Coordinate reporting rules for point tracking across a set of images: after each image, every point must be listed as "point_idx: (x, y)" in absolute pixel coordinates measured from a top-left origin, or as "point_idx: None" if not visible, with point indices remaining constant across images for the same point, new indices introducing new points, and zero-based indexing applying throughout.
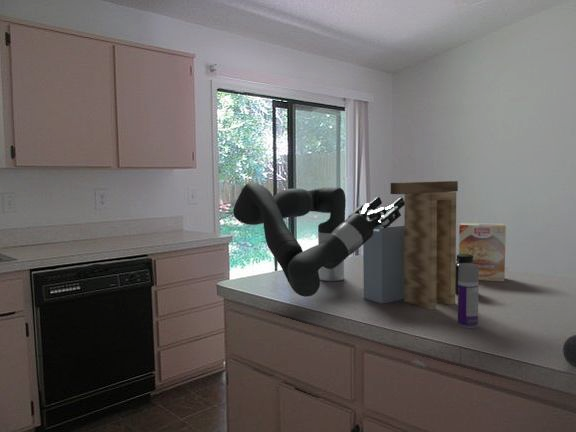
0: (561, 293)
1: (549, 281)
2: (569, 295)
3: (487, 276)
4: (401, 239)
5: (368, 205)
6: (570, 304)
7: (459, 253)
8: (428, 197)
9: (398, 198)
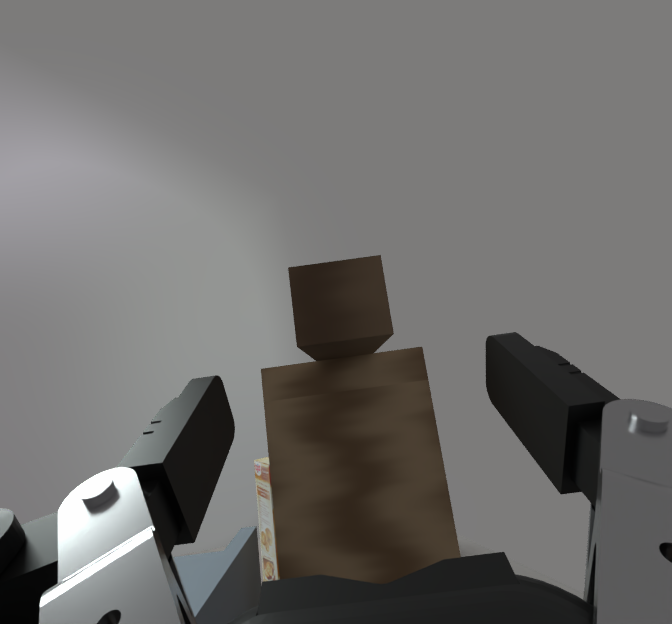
0: (471, 550)
1: None
2: (488, 550)
3: None
4: None
5: (144, 495)
6: (550, 578)
7: (275, 534)
8: (406, 368)
9: (498, 340)
